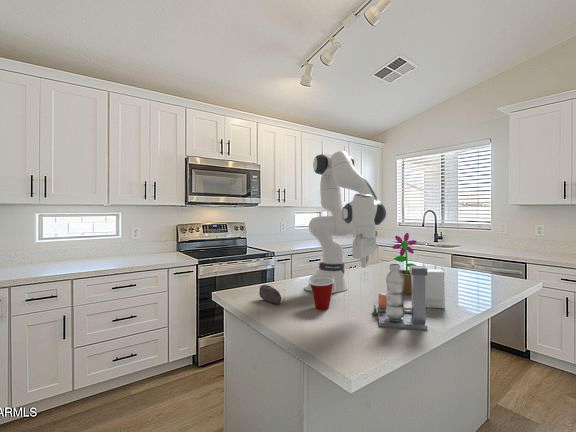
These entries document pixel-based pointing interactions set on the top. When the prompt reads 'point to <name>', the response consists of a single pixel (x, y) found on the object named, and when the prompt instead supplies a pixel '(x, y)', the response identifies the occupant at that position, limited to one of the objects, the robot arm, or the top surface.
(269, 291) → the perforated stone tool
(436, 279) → the skincare box
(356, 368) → the top surface
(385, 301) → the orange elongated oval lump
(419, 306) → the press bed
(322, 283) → the plastic cup
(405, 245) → the flowerpot
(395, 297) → the plastic bottle
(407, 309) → the rail
